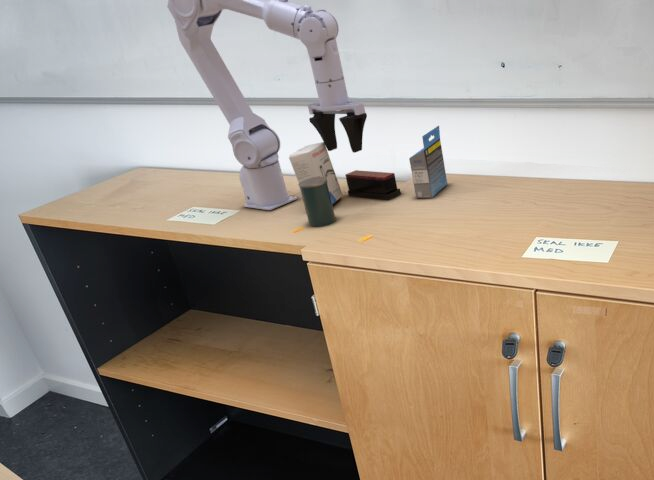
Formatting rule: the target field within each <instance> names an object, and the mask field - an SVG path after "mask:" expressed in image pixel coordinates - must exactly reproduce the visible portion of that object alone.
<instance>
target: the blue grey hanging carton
mask: <svg viewBox="0 0 654 480" xmlns="http://www.w3.org/2000/svg"><path fill="white" fill-rule="evenodd" d="M431 137H433V138H432V139H431V140H430V138H431ZM421 138H422V144H423V147H422V148H421V149H420V150H418V151H417V152H415V154H413V155H411V156H410V157H409V159H408V160H409V164H410V171H411V177H412V182H413V188H414V193H415V194H414V195H415V199H433V198H434V197H435V196H436V195H438V193H439V192H440V191H441V190H442V189H444V188H445V187H446V186H447V185H448V179H447V174H446V165H445V160H444V154H443V149H442V142H441V133H440V125H437V126H436V127H434V128H433V129H431V130H429V131H428V132H427V133H425V134H424V135H422V137H421Z"/></svg>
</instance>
